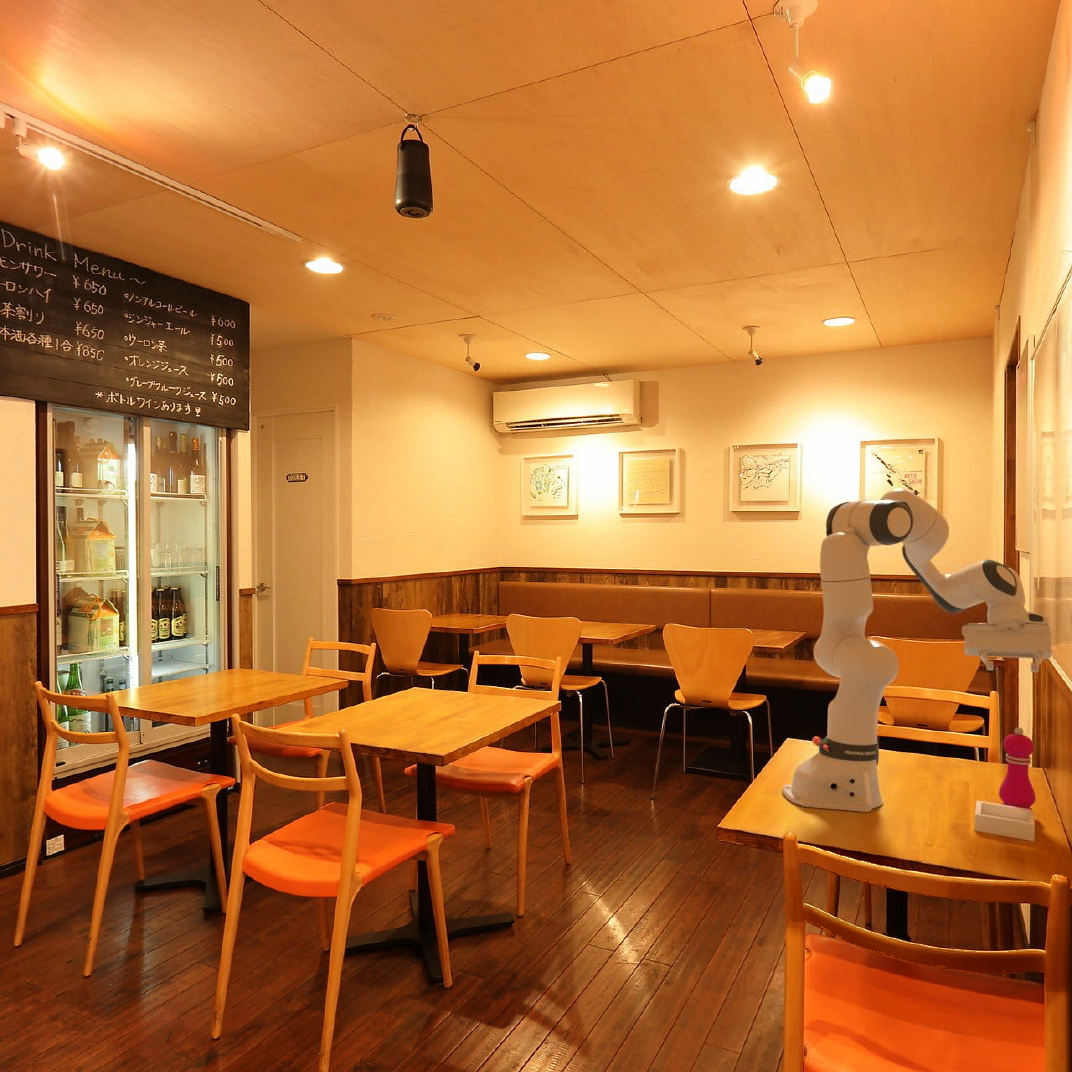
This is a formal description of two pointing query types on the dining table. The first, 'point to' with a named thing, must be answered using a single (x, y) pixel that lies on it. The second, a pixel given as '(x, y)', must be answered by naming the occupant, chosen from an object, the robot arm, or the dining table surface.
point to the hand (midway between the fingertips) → (1012, 669)
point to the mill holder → (1005, 820)
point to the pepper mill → (1017, 771)
